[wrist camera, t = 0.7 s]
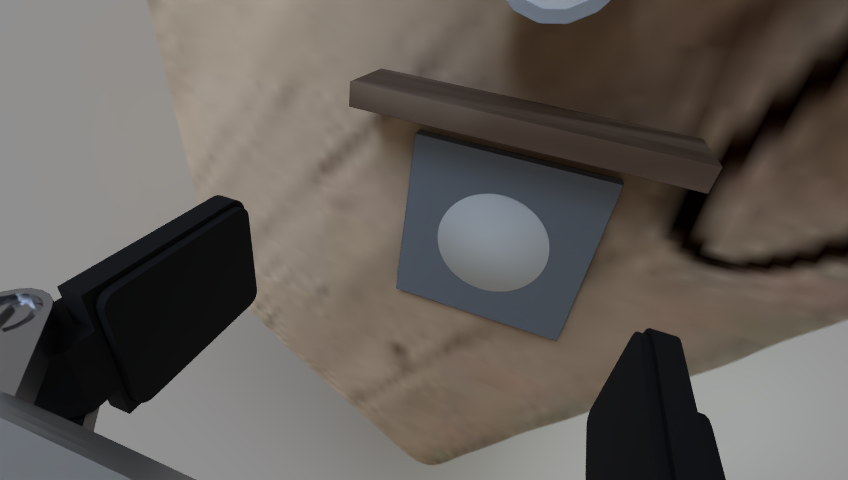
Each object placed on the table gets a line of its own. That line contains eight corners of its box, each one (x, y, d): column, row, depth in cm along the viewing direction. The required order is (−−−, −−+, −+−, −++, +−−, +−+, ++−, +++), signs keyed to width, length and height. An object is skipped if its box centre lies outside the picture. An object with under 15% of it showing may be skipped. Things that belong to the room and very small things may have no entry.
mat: (419, 129, 33) (415, 134, 32) (622, 179, 30) (623, 185, 29) (399, 282, 41) (395, 288, 40) (557, 333, 38) (556, 341, 37)
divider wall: (381, 68, 32) (350, 81, 27) (703, 139, 27) (722, 167, 23) (379, 90, 32) (349, 106, 28) (691, 163, 28) (708, 193, 24)
